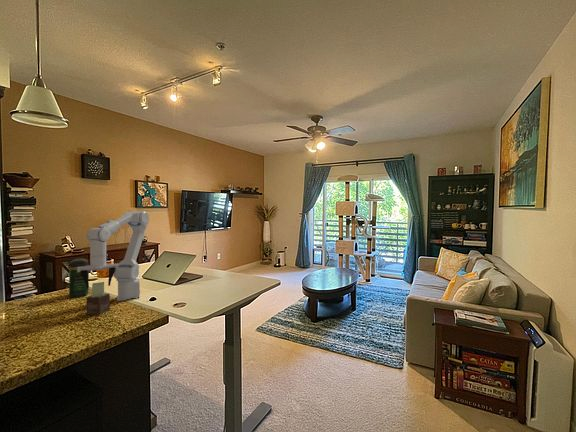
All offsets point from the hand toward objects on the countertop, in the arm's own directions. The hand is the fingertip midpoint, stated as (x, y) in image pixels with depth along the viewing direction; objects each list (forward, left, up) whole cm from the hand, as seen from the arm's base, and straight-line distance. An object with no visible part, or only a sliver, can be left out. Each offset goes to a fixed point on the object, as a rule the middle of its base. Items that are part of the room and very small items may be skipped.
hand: (98, 286), depth 118 cm
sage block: (0, +3, -3) cm, 4 cm away
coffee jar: (+9, -30, -11) cm, 33 cm away
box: (0, +3, -11) cm, 11 cm away
